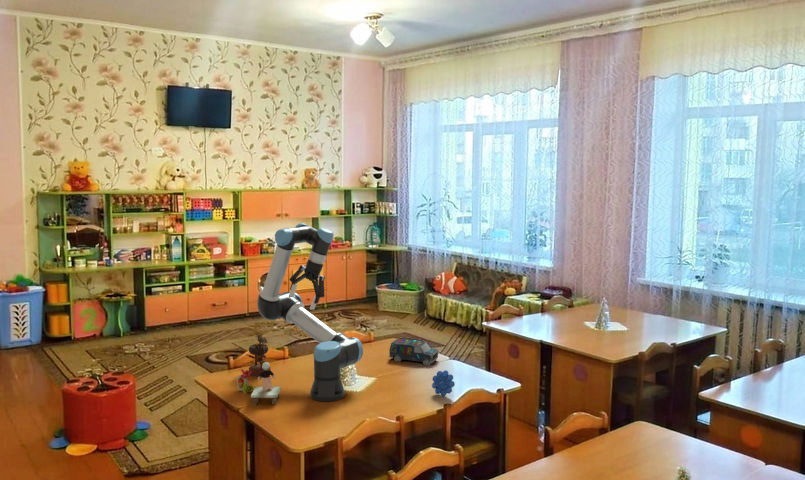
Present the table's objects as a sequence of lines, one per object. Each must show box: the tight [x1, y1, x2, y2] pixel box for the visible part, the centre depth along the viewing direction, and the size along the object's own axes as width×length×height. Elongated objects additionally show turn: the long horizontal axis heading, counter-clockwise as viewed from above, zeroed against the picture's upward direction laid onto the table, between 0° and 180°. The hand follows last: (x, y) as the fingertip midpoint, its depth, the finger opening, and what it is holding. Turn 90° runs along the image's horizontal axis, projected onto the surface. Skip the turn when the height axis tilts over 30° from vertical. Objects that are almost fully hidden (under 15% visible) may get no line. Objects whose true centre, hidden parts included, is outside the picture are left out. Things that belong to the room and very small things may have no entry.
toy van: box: [388, 338, 439, 366], centre depth 346 cm, size 11×25×10 cm, turn 67°
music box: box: [246, 333, 272, 378], centre depth 321 cm, size 15×11×20 cm
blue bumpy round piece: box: [431, 370, 456, 397], centre depth 294 cm, size 12×7×12 cm, turn 54°
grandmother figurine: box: [257, 361, 276, 392], centre depth 285 cm, size 8×4×13 cm, turn 131°
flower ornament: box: [236, 368, 255, 395], centre depth 296 cm, size 6×11×9 cm
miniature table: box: [250, 385, 282, 406], centre depth 286 cm, size 11×11×4 cm
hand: (301, 303), depth 308 cm, fingers open, 13 cm apart
